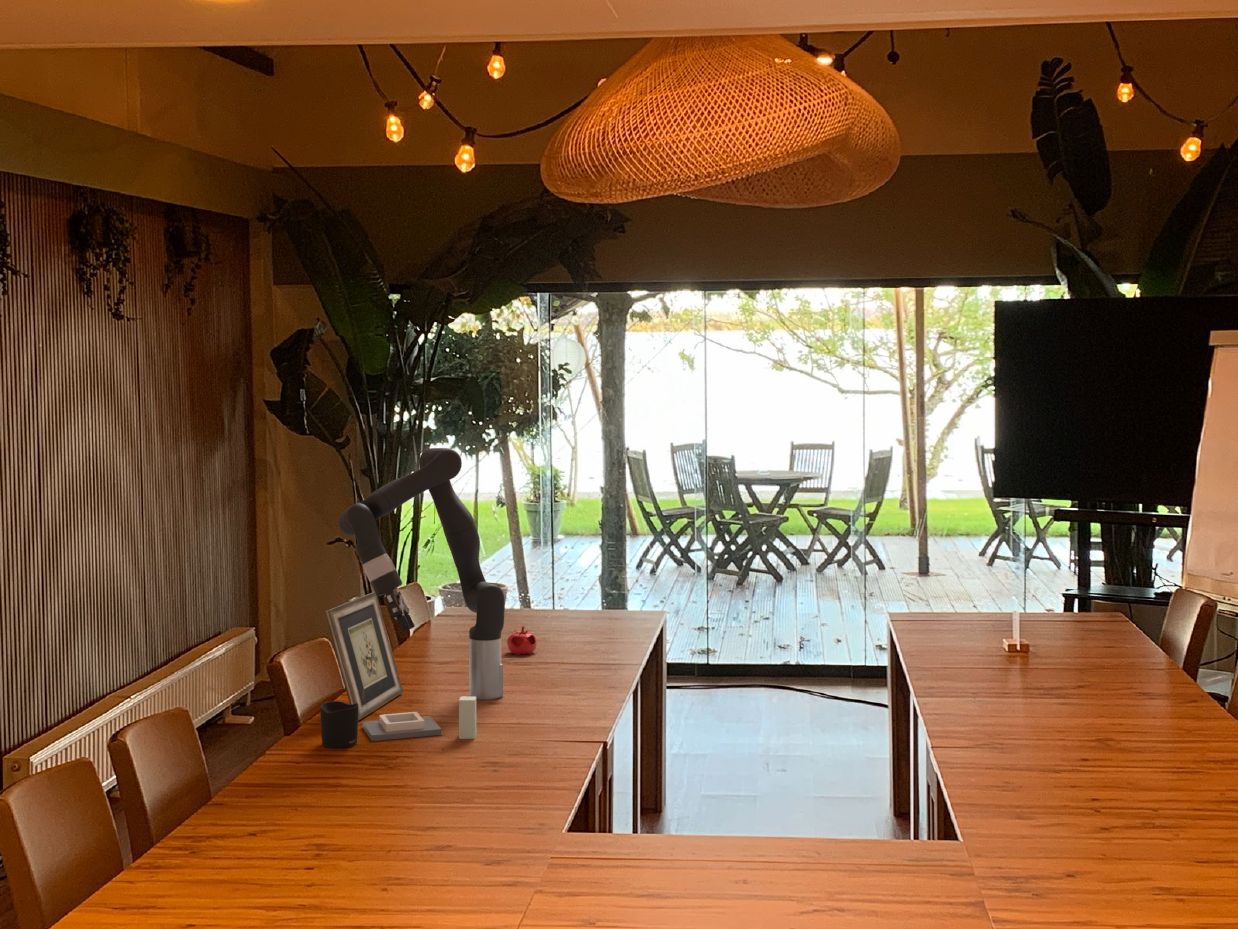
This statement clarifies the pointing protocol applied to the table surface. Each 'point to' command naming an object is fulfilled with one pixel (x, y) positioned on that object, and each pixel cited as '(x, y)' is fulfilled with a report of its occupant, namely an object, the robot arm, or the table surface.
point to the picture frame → (364, 653)
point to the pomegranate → (521, 642)
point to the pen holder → (339, 724)
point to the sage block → (467, 717)
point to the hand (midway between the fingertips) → (409, 629)
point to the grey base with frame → (401, 726)
